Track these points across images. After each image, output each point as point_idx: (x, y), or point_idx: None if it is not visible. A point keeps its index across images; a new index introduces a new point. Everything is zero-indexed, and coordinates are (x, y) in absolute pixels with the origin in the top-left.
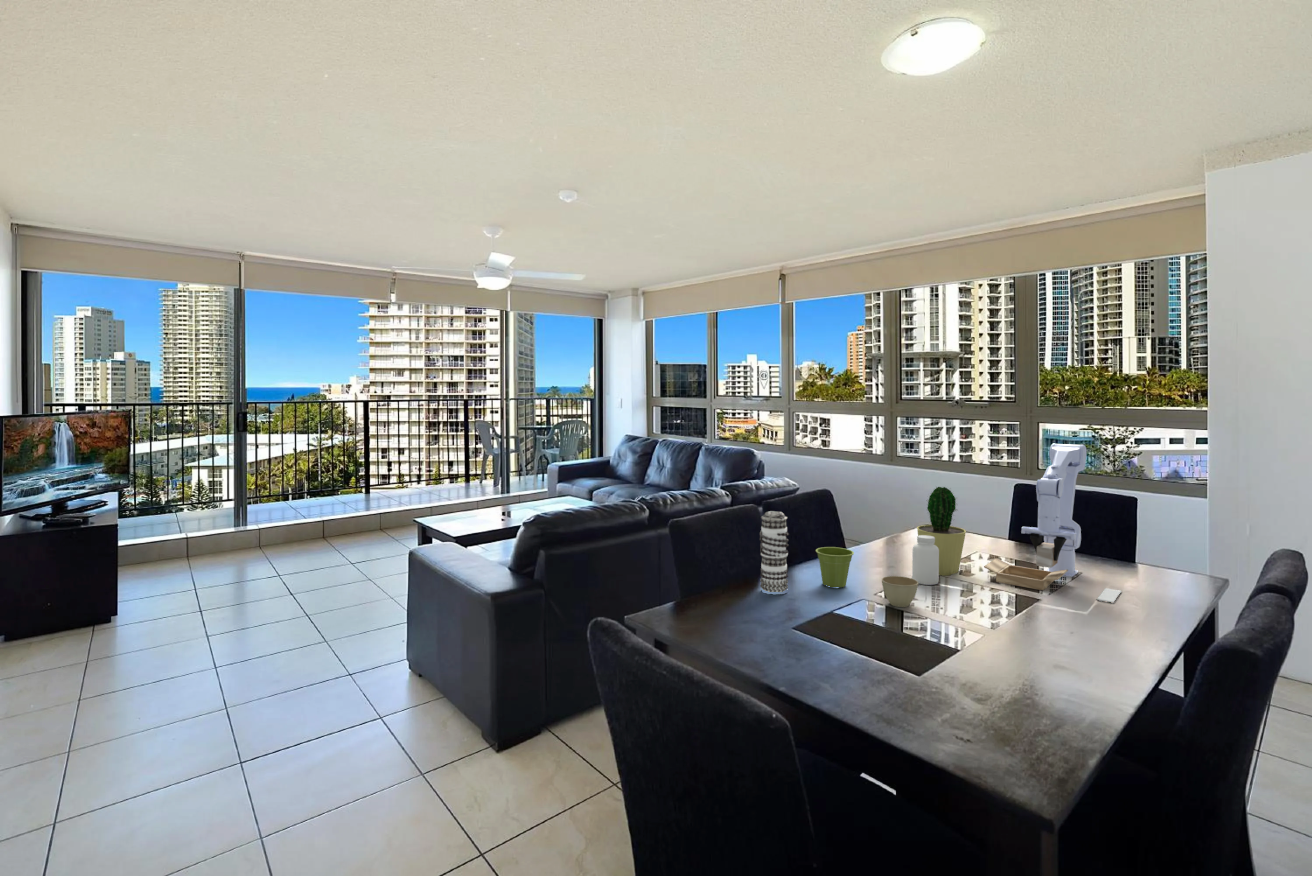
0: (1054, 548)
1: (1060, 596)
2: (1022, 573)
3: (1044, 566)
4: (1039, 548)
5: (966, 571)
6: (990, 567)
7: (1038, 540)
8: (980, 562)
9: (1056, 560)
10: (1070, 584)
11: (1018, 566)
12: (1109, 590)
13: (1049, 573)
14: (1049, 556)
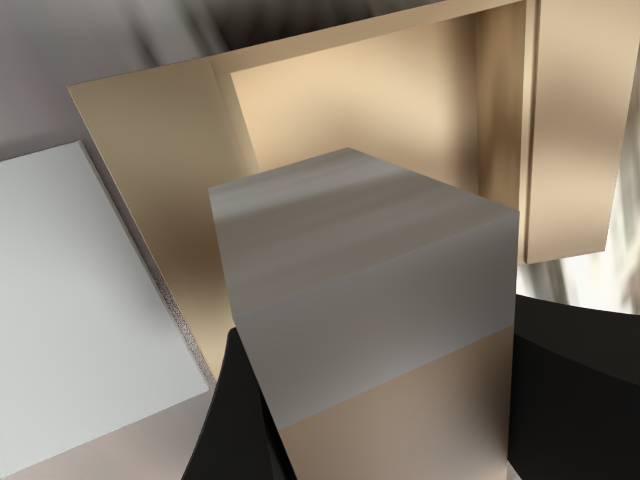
0: (264, 441)
1: (63, 65)
2: None
3: (273, 171)
4: (452, 220)
5: (630, 113)
6: (604, 8)
7: (617, 414)
8: (599, 301)
9: (227, 335)
10: None
11: None
12: (2, 441)
13: None
14: (245, 232)
